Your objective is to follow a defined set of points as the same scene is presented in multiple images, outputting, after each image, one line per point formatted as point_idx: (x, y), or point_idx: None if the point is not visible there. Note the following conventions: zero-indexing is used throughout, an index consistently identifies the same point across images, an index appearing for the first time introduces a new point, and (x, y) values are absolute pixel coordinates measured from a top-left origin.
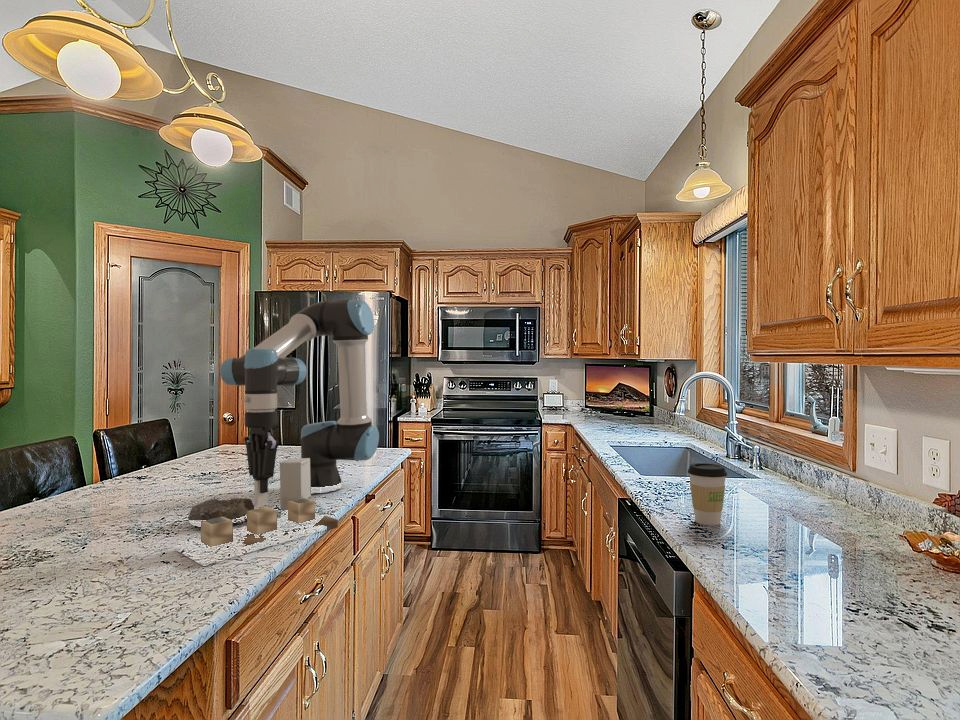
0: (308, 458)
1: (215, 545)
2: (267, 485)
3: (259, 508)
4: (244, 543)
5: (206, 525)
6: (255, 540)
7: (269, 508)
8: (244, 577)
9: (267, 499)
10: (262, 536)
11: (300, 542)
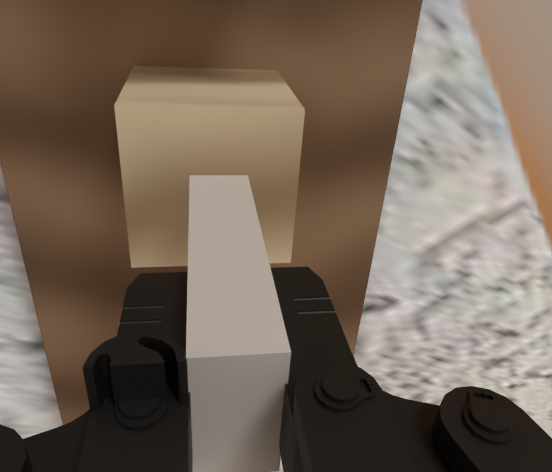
0: None
1: None
2: (337, 323)
3: (139, 180)
4: (333, 287)
5: None
6: (343, 240)
7: (209, 124)
8: (527, 347)
9: (254, 202)
10: (318, 190)
11: (460, 17)
